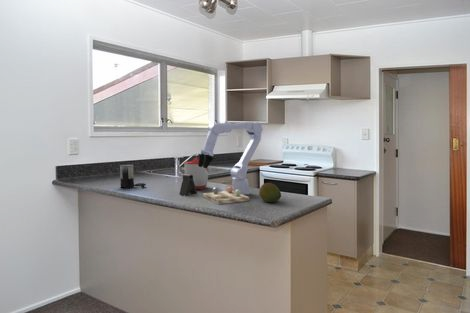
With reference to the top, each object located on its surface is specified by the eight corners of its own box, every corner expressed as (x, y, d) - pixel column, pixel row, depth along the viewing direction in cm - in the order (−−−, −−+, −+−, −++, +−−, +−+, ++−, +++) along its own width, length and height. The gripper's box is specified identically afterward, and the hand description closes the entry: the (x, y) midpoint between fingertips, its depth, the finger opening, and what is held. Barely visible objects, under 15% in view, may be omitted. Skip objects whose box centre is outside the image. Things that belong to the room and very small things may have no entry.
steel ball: (217, 192, 213) (217, 186, 213) (219, 193, 210) (219, 187, 210) (211, 193, 212) (211, 187, 211) (213, 194, 209) (213, 188, 208)
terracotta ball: (231, 191, 216) (231, 185, 216) (233, 192, 213) (233, 186, 212) (225, 192, 214) (225, 186, 214) (228, 193, 211) (228, 187, 211)
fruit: (267, 198, 205) (267, 180, 204) (286, 201, 197) (286, 182, 196) (254, 202, 196) (254, 183, 195) (274, 205, 188) (274, 185, 187)
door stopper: (185, 196, 215) (185, 175, 214) (179, 194, 219) (178, 174, 218) (197, 193, 222) (196, 173, 221) (190, 192, 226) (190, 173, 225)
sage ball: (239, 194, 206) (239, 188, 206) (242, 196, 203) (242, 189, 203) (233, 195, 204) (233, 189, 204) (236, 196, 201) (236, 190, 201)
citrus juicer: (210, 190, 232) (209, 158, 230) (182, 190, 233) (182, 158, 231) (212, 185, 248) (211, 156, 246) (186, 186, 248) (185, 156, 246)
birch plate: (231, 193, 220) (231, 190, 220) (248, 200, 200) (248, 197, 200) (203, 196, 212) (203, 193, 212) (218, 204, 192) (218, 200, 192)
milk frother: (119, 186, 250) (118, 165, 249) (142, 184, 257) (142, 163, 255) (122, 190, 237) (121, 167, 236) (147, 188, 244) (146, 165, 242)
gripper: (199, 141, 212) (191, 164, 211) (208, 142, 199) (200, 166, 198) (209, 145, 215) (202, 167, 214) (219, 146, 202) (212, 170, 201)
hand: (202, 167), depth 206 cm, fingers open, 7 cm apart
